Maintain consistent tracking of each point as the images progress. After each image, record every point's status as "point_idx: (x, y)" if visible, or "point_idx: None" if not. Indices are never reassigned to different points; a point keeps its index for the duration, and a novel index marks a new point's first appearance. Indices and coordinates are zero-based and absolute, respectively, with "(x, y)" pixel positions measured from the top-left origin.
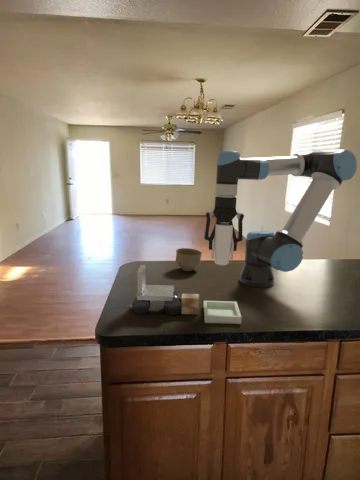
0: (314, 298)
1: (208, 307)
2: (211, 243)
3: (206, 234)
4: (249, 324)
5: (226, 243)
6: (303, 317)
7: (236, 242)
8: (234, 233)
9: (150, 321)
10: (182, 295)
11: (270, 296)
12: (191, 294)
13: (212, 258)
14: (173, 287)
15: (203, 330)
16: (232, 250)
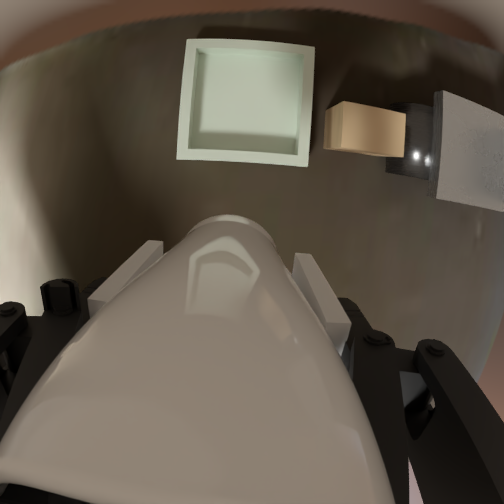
0: None
1: (286, 150)
2: (350, 328)
3: (457, 377)
4: (164, 48)
5: (177, 256)
6: (13, 121)
7: (56, 281)
8: (28, 373)
9: (452, 89)
10: (402, 138)
11: (59, 261)
12: (369, 144)
13: (304, 256)
14: (439, 178)
15: (316, 17)
16: (128, 267)
